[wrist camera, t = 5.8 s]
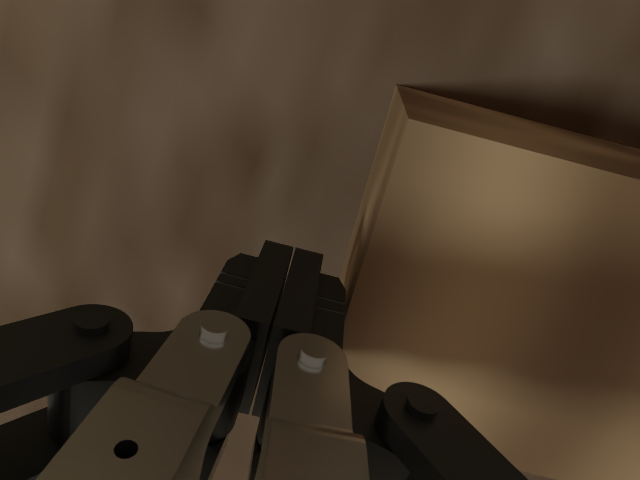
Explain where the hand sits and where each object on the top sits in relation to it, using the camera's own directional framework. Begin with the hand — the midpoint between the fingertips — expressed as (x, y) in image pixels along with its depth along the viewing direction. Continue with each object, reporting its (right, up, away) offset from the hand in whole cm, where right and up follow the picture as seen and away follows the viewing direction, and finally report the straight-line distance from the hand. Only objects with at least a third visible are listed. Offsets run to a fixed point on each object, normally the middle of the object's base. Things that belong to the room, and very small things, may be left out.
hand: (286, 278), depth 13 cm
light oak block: (+8, +1, +4) cm, 9 cm away
